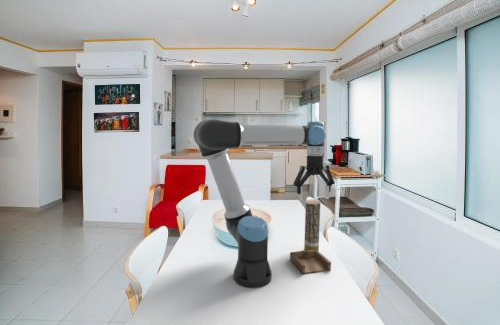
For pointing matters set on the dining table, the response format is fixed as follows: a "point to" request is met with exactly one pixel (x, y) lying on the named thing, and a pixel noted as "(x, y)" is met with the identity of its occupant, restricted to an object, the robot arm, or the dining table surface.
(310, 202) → the paper tube
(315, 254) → the wooden tray
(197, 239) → the dining table surface
